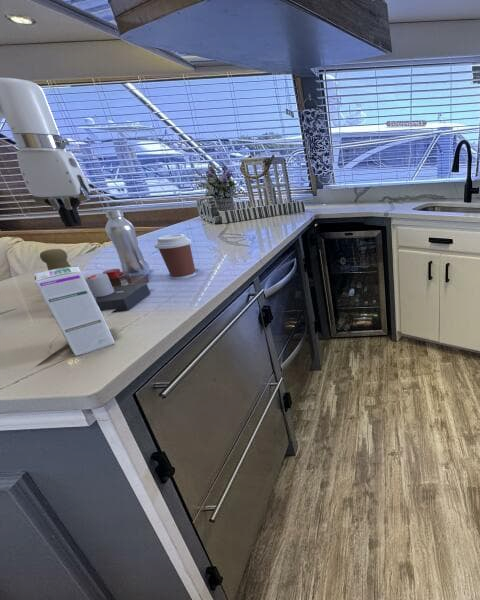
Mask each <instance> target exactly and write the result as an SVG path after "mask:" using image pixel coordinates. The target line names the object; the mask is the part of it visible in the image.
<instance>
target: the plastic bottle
mask: <svg viewBox="0 0 480 600" xmlns="http://www.w3.org/2000/svg"><path fill="white" fill-rule="evenodd" d="M104 213H105V217H106V218H108V219H107V222H106V224H105V233H106V235H107V237H108V238H109V240H110V241H111V242H112V244H113V247H114V249H115V250H116V253H117V256H118V259H119V262H120V270H121V272H128V273H129V276H136V275H149V274H150V272H151V269H150V268H151V267H150V265H149V263H148V261H147V260H146V259H145V256H144V255H143V252H142V251H141V249H140V245H139V242H138V239H137V233H136V229H135V226H134V225H133V223H131V222H130V221H129V220H127V219H126V218H125V214H124V213H123V210H122V208H116V209H115V208H114V209H106V210H104Z"/></svg>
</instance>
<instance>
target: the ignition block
mask: <svg viewBox="0 0 480 600" xmlns="http://www.w3.org/2000/svg"><path fill="white" fill-rule="evenodd" d="M121 274H122V275H120V276H117V277H112V278H109V280H110V282H111V285H112V287H116V286H126V285H136V284H145V283H149V278H148V276H147V275H148V274H147V275H136V276H129V273H128V272H122V271H121Z"/></svg>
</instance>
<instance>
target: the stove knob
mask: <svg viewBox="0 0 480 600" xmlns="http://www.w3.org/2000/svg"><path fill="white" fill-rule="evenodd" d="M83 277H84V279H85V281H86V283H87V284H88V286H89V288H90V290H91V292H92V294H93V296H94V297H102V296H106V295H109V294H112V293H113V292H114V289H113V287H112V285H111V282H110V280H109V277H108V275H107V274H106V273H103V272H102V273H95V274H89V275H87V276H83Z"/></svg>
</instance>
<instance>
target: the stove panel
mask: <svg viewBox="0 0 480 600" xmlns="http://www.w3.org/2000/svg"><path fill="white" fill-rule="evenodd" d="M147 283H148V282H147ZM147 283H145V284H136V285H126V286H116V287H113V289H114V292H113V293H112V294H109V295H106V296H102V297H94V298H95V300H96V302H97V304H98V306H99V308H100V311H101V312H102V311H108V310H113V311H111V312H110V313H120V312H121V313H122V312H129V311H130V310H132V309H133V308H134V307H135V306H138V304H139V303H141V302H142V301H143V300H145V299H146V298H147V297H149V296H150V295H151V292H150V289H149V286H148V284H147Z"/></svg>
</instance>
